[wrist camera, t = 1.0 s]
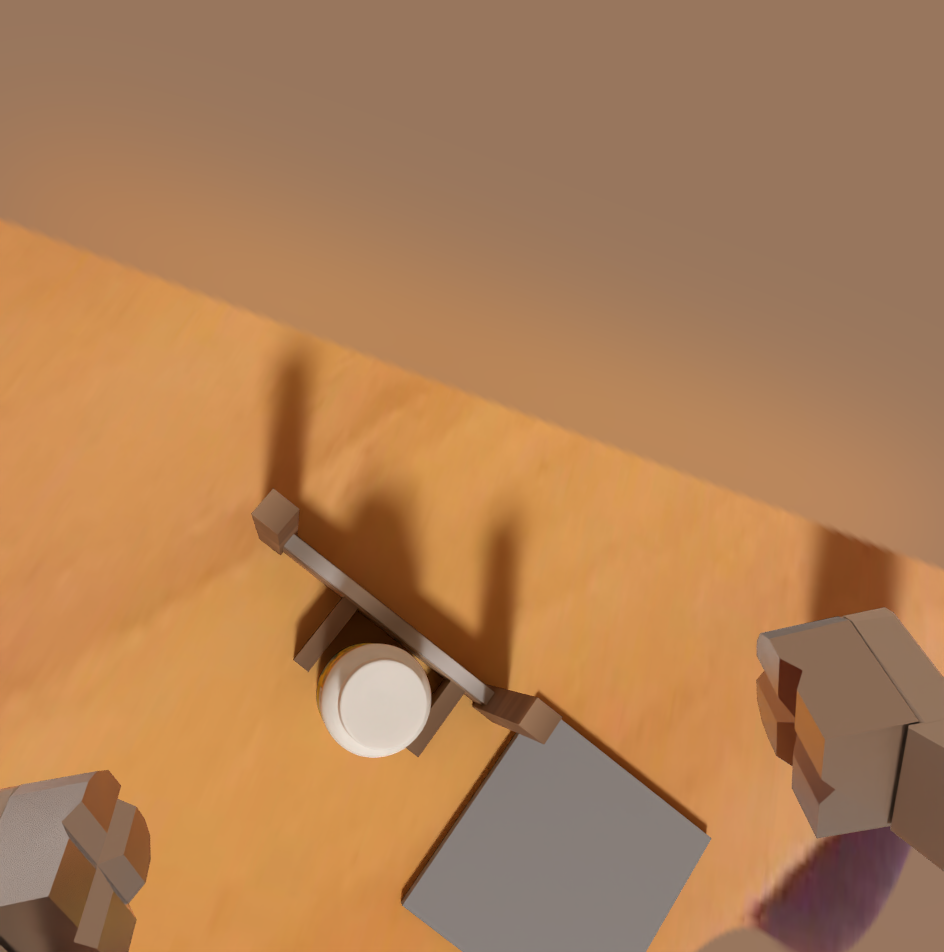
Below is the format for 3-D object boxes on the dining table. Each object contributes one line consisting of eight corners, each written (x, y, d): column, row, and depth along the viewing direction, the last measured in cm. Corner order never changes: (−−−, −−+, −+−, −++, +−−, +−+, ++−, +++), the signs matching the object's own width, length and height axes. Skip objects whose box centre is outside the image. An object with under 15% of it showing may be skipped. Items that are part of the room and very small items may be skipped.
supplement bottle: (326, 752, 45) (336, 782, 36) (307, 655, 46) (311, 660, 36) (421, 725, 46) (453, 748, 37) (400, 632, 47) (427, 631, 38)
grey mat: (400, 902, 44) (402, 905, 44) (537, 701, 48) (540, 702, 47) (585, 1043, 45) (589, 1048, 44) (706, 835, 49) (711, 838, 48)
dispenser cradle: (211, 595, 45) (189, 584, 36) (276, 518, 47) (273, 488, 37) (451, 781, 46) (493, 820, 36) (507, 700, 48) (562, 717, 38)
